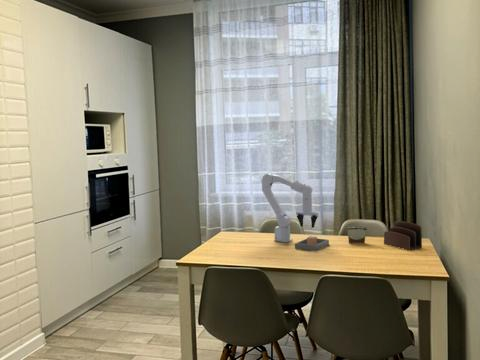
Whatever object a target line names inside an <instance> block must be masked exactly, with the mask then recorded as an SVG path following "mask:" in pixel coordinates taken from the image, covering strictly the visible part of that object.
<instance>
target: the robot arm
mask: <svg viewBox="0 0 480 360" xmlns="http://www.w3.org/2000/svg"><path fill="white" fill-rule="evenodd" d="M274 183H280V184H283V185H286V186H288V187H290V189H291V190H293V191H295V192H297V193H300V194H302V211H295V215H296V218H297V220H298V222H299V226H300V227H304V216H309V217H310V222H311V229H312V228H313V229H314V228H315V224H316V223H317V222H316V221H317V219H318V218H319V216H320V215H319V212H313V205H312V204H313V201H312V200H313V198H312V193H313V188H312V186H310V185H307V184H306V183H302V182H300V180H293V181H292V180H290V179H287V178H285V177H283V176H280V175H278V174H275V173H271V172H269V173H267V174H264V175H262V179H261V191H262V192H263V195H264V197H265V198H266V199H267V202H268V203H269V205H270V207H271V208H272V210H273V212H274V214H275V218H276V221H277V224H278V226H275V227H274V240H273V241H275V242H283V243H288V242H291V241H293V240H294V239H293V238H291V225H290V224H291V220H292V219H291V217H290V215H288V214H287V213H286V212H285V211H284V210H283V208H282V207H281V205H280V203H279V201H278V200H277V197H276V196H275V194H274V193H273V191H272V186H273V184H274Z"/></svg>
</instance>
